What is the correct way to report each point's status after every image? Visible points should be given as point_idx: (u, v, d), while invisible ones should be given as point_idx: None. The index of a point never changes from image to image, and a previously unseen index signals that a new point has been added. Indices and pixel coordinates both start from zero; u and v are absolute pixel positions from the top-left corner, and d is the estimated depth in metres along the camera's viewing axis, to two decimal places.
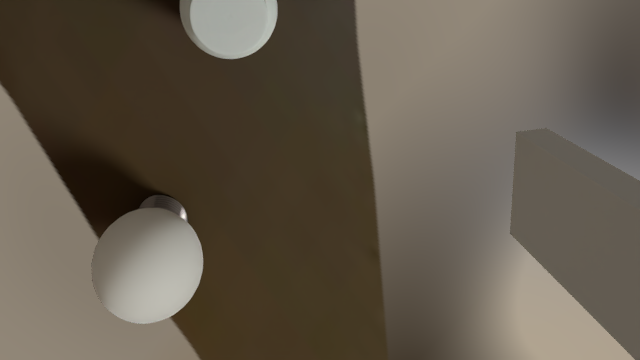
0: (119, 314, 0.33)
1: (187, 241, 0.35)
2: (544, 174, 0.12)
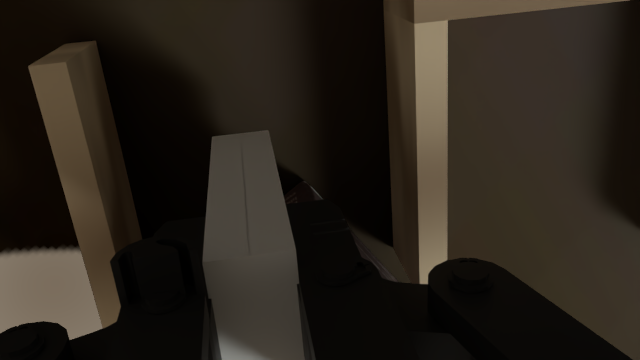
0: None
1: None
2: None
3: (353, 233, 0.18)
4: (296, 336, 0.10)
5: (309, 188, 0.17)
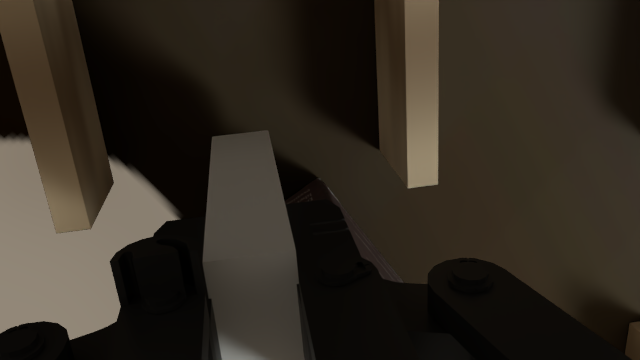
0: None
1: None
2: None
3: None
4: (295, 336, 0.10)
5: (324, 185, 0.17)
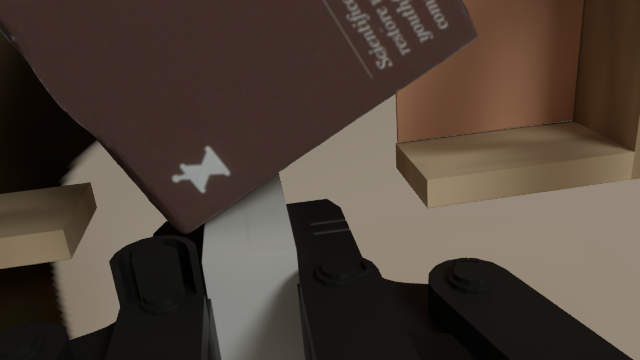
0: None
1: None
2: None
3: None
4: (296, 336, 0.10)
5: None
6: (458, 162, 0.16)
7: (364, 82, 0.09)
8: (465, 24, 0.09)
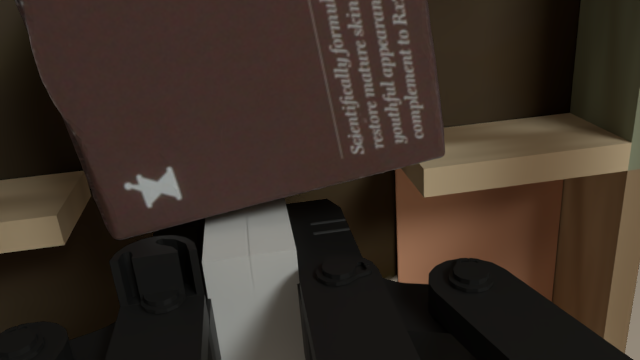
0: None
1: None
2: None
3: None
4: (296, 336, 0.10)
5: None
6: None
7: (334, 160, 0.10)
8: (438, 141, 0.10)
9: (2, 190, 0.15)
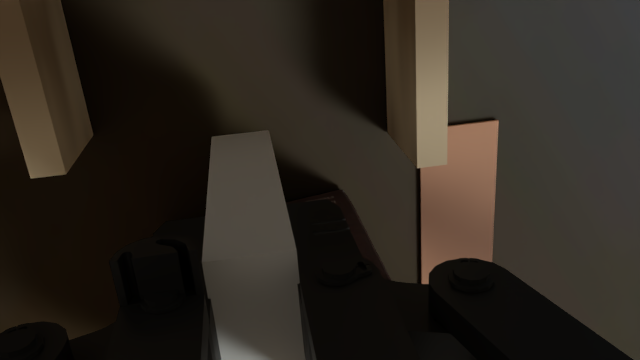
0: None
1: None
2: None
3: None
4: (296, 336, 0.10)
5: (348, 198, 0.17)
6: None
7: None
8: None
9: (68, 73, 0.15)
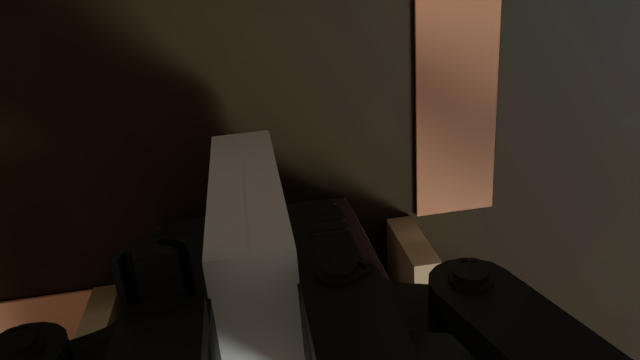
0: None
1: None
2: None
3: None
4: (296, 336, 0.10)
5: (350, 207, 0.17)
6: None
7: None
8: None
9: None
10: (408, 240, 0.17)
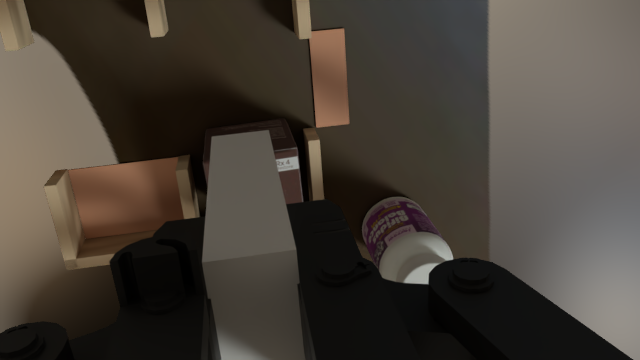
0: None
1: None
2: None
3: None
4: (296, 336, 0.10)
5: None
6: (63, 195, 0.40)
7: None
8: None
9: (162, 0, 0.37)
10: (309, 134, 0.41)
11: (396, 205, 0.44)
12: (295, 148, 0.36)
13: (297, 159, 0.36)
